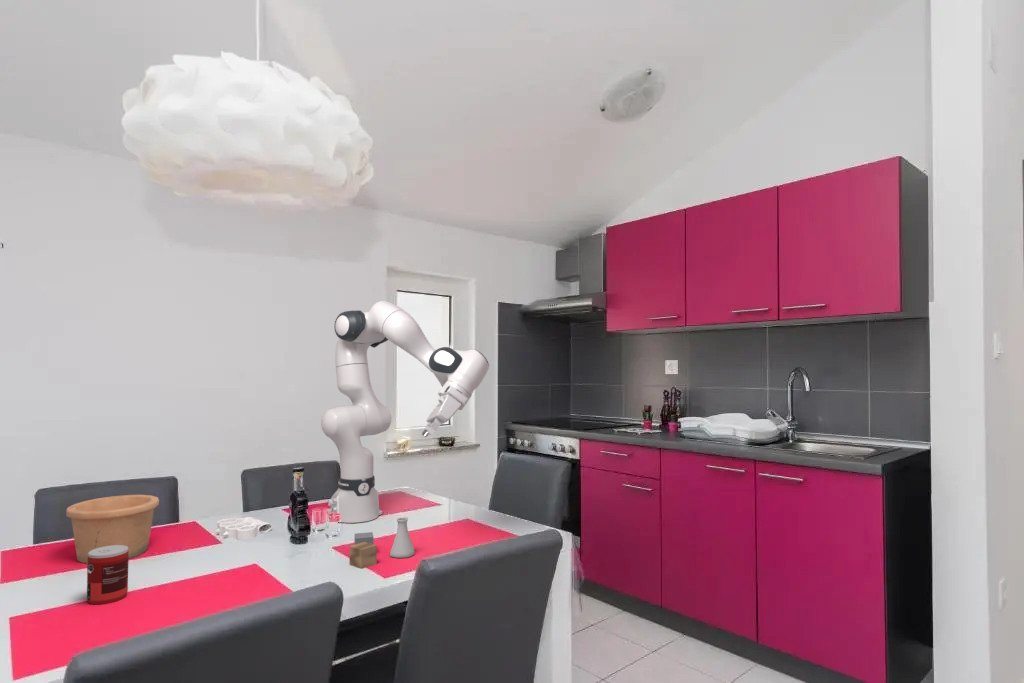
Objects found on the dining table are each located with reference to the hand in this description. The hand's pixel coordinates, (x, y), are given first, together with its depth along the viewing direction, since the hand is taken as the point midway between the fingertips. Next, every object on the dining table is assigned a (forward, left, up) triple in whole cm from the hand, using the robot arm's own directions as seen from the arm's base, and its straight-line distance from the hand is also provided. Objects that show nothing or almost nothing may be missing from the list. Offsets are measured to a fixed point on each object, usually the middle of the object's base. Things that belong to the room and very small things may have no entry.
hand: (426, 434), depth 175 cm
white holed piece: (-49, -40, -33) cm, 71 cm away
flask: (+2, -9, -33) cm, 34 cm away
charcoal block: (-6, -17, -33) cm, 37 cm away
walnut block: (+3, -21, -33) cm, 39 cm away
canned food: (-11, -77, -33) cm, 84 cm away
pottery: (-48, -74, -33) cm, 94 cm away
